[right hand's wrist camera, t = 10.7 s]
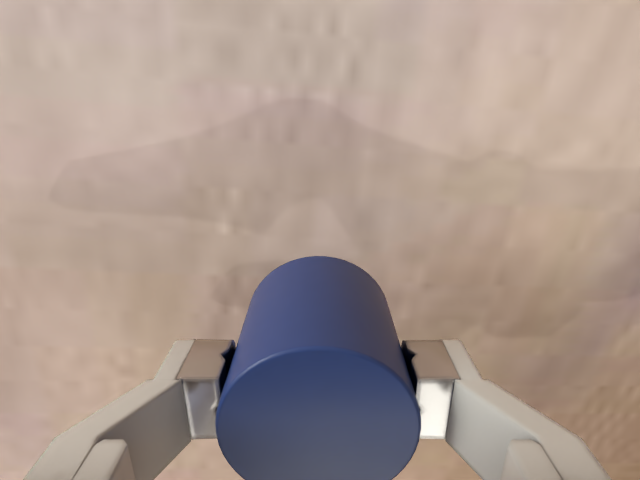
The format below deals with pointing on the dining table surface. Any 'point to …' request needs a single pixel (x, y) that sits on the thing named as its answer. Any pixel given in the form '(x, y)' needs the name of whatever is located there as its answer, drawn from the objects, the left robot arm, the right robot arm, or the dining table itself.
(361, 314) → the cylinder
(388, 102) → the dining table surface
